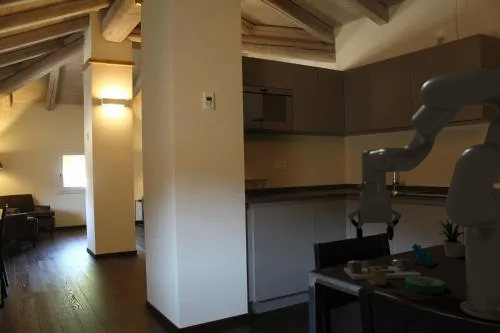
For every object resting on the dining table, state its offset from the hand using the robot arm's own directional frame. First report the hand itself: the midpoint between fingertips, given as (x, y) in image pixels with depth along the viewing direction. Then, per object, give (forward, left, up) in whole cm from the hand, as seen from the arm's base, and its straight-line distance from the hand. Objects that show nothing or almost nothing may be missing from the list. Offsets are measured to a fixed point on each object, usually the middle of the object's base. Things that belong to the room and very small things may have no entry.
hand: (374, 240), depth 131 cm
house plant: (+36, -43, -14) cm, 58 cm away
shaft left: (+10, +3, -12) cm, 16 cm away
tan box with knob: (0, 0, -14) cm, 14 cm away
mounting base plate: (+10, -5, -14) cm, 18 cm away
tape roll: (-8, -12, -14) cm, 20 cm away
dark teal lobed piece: (+22, -26, -14) cm, 37 cm away
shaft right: (+11, -13, -12) cm, 21 cm away
